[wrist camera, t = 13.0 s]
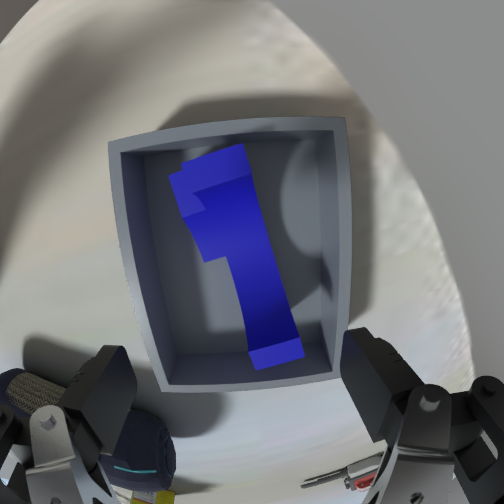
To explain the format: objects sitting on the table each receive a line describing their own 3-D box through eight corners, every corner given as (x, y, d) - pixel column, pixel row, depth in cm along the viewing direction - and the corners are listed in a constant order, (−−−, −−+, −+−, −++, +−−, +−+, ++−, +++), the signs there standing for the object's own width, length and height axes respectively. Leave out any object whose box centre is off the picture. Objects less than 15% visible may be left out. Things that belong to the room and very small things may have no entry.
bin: (173, 355, 22) (161, 391, 18) (137, 149, 18) (107, 142, 13) (324, 342, 23) (341, 377, 18) (320, 131, 18) (344, 117, 13)
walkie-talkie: (414, 433, 30) (298, 478, 31) (424, 451, 25) (302, 499, 27) (409, 453, 32) (308, 492, 33) (418, 469, 28) (312, 510, 29)
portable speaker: (179, 400, 24) (162, 478, 15) (183, 447, 27) (173, 510, 17) (8, 346, 23) (-32, 386, 13) (30, 397, 25) (1, 437, 15)
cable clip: (179, 175, 18) (151, 175, 12) (242, 154, 17) (242, 142, 12) (233, 326, 21) (231, 376, 15) (288, 310, 21) (305, 356, 15)
